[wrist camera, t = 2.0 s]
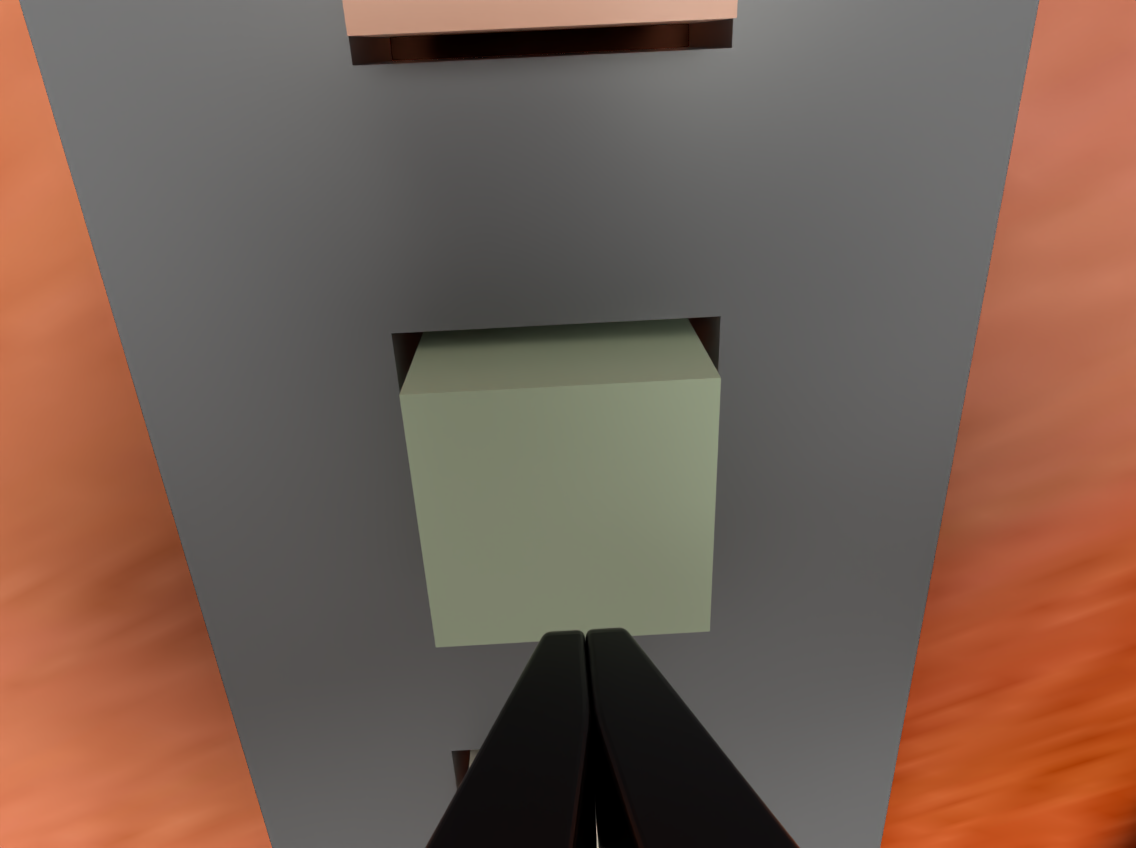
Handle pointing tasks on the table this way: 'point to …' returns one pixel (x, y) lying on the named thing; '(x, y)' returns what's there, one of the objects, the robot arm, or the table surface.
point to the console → (537, 298)
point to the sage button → (564, 478)
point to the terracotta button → (521, 15)
